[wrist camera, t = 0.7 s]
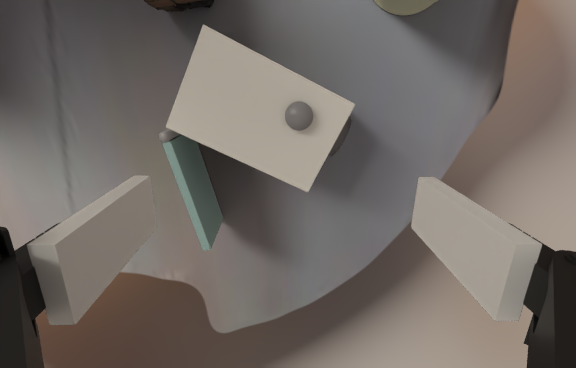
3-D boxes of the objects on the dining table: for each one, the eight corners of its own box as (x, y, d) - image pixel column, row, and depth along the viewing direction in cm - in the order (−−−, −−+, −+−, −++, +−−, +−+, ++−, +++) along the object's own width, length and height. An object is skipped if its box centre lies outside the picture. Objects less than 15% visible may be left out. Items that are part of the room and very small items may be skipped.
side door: (174, 124, 35) (147, 135, 28) (190, 120, 35) (167, 130, 28) (209, 221, 39) (194, 253, 32) (224, 218, 39) (211, 249, 32)
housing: (191, 117, 35) (161, 130, 26) (222, 38, 32) (200, 22, 24) (308, 172, 37) (317, 201, 29) (345, 102, 35) (367, 110, 26)
